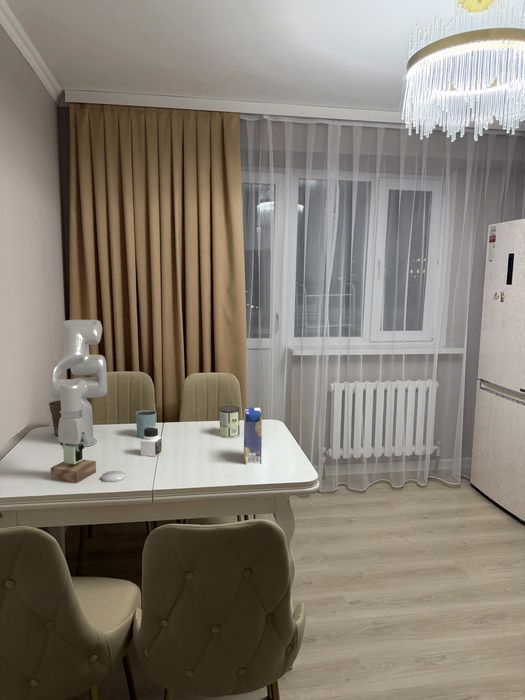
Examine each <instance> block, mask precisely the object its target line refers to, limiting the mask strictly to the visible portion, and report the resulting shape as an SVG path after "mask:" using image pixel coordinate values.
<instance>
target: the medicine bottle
mask: <svg viewBox="0 0 525 700" xmlns="http://www.w3.org/2000/svg"><path fill="white" fill-rule="evenodd" d="M144 437H145V438H141V440H140V456H143V457H154V458H155V457H157V456H158V455H160V453H162V451H163V450H162V445H163V444H162V441H163V440H162V437H161V436H159V430H158V428H157V427H156V426H155V427H147V428H145V429H144Z"/></svg>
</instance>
